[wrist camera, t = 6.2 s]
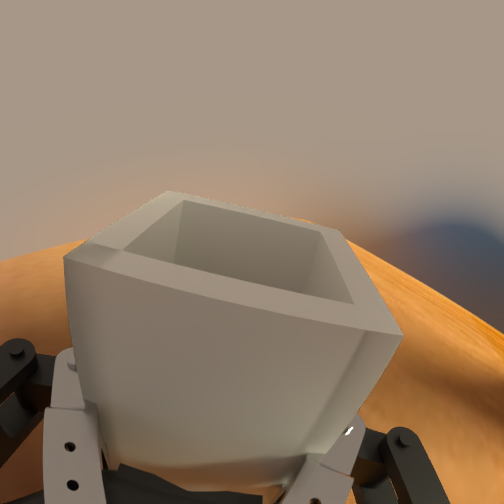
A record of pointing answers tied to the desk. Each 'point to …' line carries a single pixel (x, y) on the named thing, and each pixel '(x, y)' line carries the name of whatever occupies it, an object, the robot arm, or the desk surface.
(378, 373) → the white square holder
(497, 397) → the desk surface
